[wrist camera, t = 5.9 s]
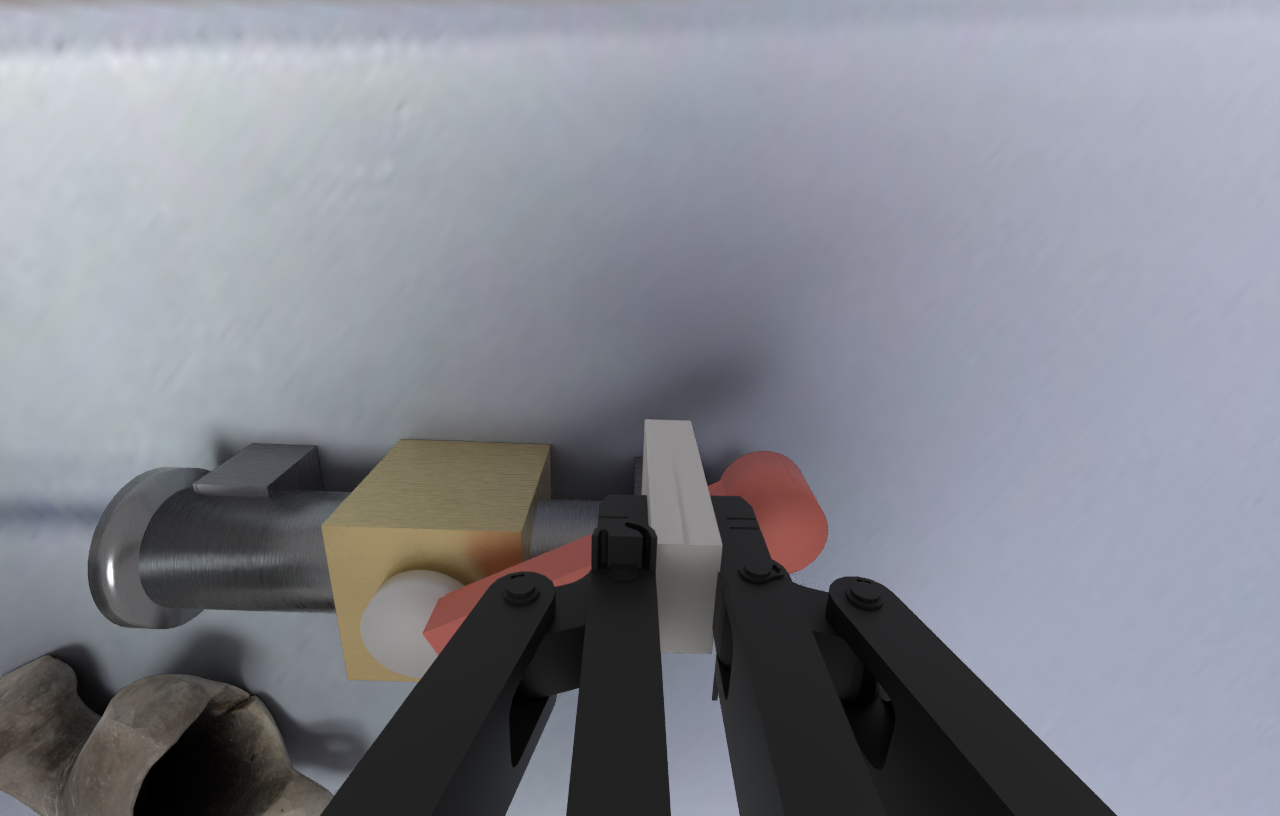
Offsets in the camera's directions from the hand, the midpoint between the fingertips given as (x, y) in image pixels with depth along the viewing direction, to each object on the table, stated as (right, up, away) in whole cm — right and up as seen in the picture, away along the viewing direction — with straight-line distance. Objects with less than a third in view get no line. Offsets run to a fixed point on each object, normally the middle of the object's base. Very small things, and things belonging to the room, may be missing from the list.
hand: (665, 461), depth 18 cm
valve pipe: (-9, -3, +11) cm, 14 cm away
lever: (-3, -4, +3) cm, 5 cm away
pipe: (-26, -15, +16) cm, 34 cm away
